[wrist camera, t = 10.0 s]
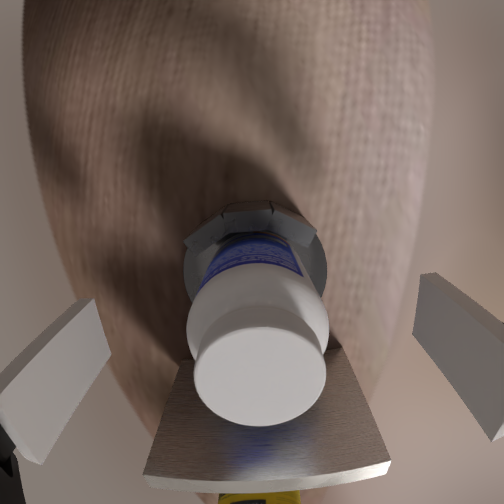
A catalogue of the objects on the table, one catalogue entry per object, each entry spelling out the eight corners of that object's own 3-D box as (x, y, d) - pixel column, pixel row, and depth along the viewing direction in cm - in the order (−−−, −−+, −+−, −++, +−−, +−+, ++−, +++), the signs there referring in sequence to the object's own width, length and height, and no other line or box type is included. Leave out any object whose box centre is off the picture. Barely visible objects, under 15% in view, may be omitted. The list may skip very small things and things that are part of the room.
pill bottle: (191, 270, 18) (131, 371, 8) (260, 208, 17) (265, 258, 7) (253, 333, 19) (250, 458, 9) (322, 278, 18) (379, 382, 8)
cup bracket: (155, 211, 17) (56, 259, 8) (344, 195, 17) (440, 228, 7) (185, 372, 20) (150, 487, 11) (341, 361, 20) (385, 474, 10)
